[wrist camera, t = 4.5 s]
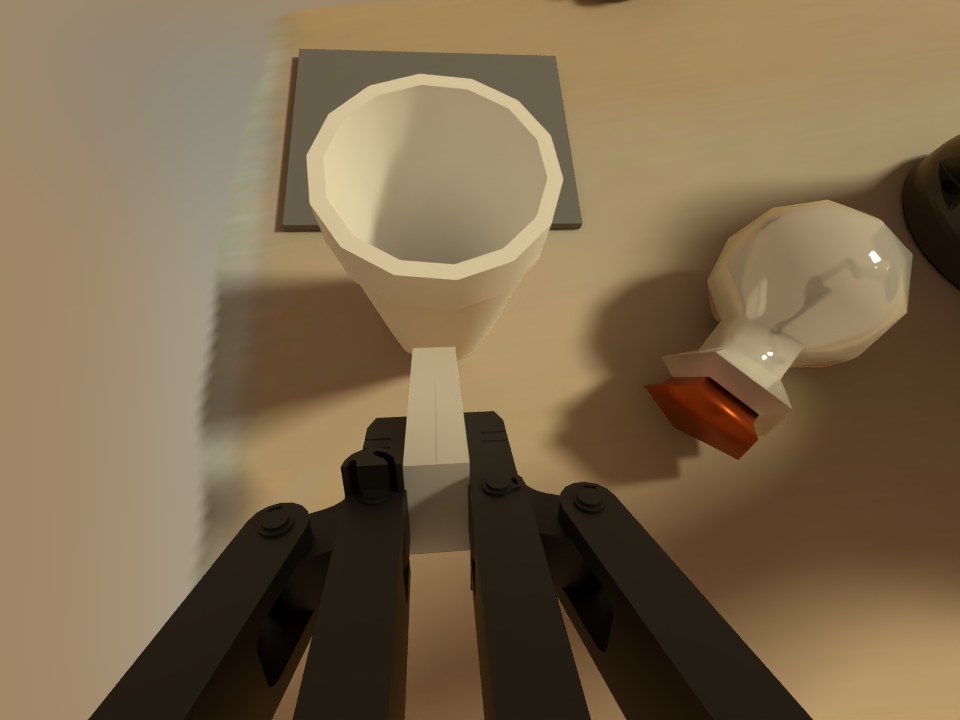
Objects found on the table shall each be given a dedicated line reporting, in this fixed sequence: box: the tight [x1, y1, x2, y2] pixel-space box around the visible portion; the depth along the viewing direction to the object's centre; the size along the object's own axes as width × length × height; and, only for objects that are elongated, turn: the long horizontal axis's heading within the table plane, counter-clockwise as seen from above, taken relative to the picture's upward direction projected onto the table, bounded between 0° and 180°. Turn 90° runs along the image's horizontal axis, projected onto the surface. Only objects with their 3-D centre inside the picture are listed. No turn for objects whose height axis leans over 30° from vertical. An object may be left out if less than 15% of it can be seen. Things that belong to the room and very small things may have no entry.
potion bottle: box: [645, 200, 913, 460], centre depth 26 cm, size 9×10×15 cm
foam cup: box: [306, 74, 563, 360], centre depth 23 cm, size 10×9×13 cm
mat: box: [282, 49, 582, 231], centre depth 34 cm, size 16×20×1 cm
